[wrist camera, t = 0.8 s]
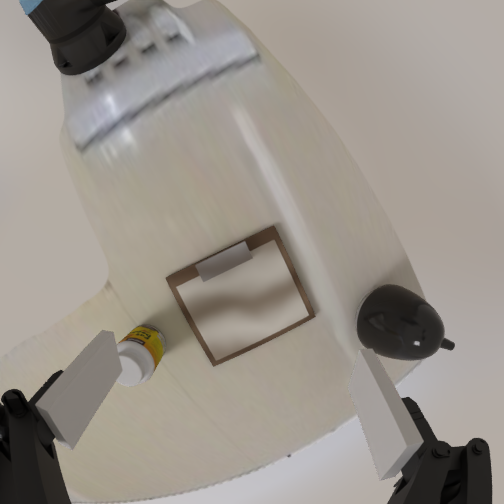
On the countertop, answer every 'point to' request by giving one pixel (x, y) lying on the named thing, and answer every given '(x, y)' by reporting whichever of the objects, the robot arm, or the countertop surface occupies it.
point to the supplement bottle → (140, 354)
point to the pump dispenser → (399, 324)
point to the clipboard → (241, 296)
